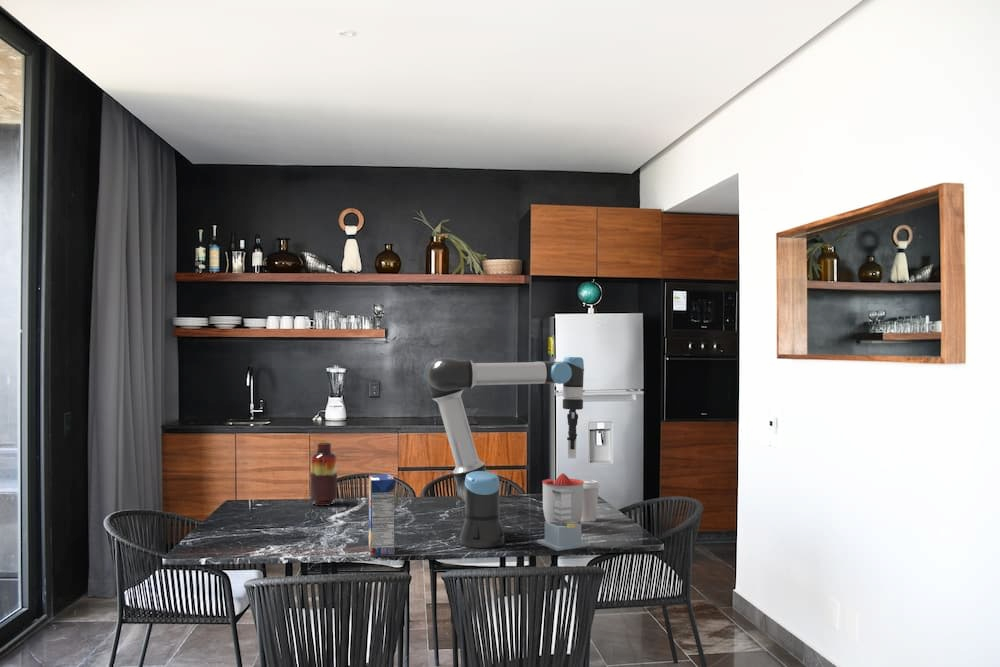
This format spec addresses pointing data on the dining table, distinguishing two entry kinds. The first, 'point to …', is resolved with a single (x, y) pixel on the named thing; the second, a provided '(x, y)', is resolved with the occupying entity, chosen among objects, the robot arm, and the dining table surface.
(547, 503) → the citrus juicer
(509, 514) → the dining table surface
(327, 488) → the vase
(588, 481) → the coffee cup
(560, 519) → the column
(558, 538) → the stand base
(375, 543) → the juice carton
